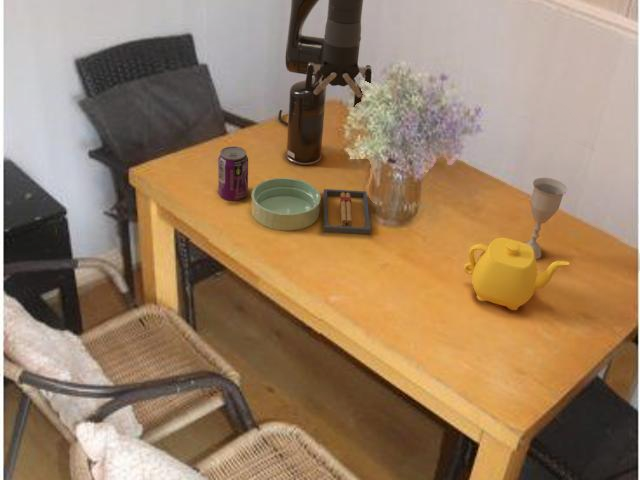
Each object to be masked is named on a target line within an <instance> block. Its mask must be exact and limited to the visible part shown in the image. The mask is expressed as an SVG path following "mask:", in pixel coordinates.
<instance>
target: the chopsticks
mask: <svg viewBox="0 0 640 480" xmlns="http://www.w3.org/2000/svg"><path fill="white" fill-rule="evenodd" d="M339 210H340V223H341V224H340V226H348V227H353V226H352V224H353V215H352V214H353V213H352V197H350V193H346V194H345V193H344V192H342V193H341V196H340V198H339Z"/></svg>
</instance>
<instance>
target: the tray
mask: <svg viewBox="0 0 640 480" xmlns="http://www.w3.org/2000/svg"><path fill="white" fill-rule="evenodd" d="M342 192H344V193H345V194H346V193H350V197H351V198H360V199H362V204H363V214H364V225H365V226H364V227H363V226H352V227H348V226H341V225H329V211H328V209H329V208H328V207H329V206H328V197H341V193H342ZM323 233H331V234H347V235H348V234H349V235H350V234H351V235H366V236H370V235H371V221H370V211H369V203H368V193H367V191H364V190H347V189H332V188H329V189H328V188H324V189H323Z"/></svg>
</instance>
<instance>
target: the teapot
mask: <svg viewBox="0 0 640 480" xmlns="http://www.w3.org/2000/svg"><path fill="white" fill-rule="evenodd" d="M476 250H478V251H482V252H481V253H480V255H479V257H478V258H477V260H476V258H475V251H476ZM468 259H469V262H467V263H465V264H464V267H463V270H464V272H465V273H466V274H468V275H471V283H472V287H473V291H474V292H475V294H476V299H477V300H479V301H480V302H490V303H493V304H495V305H500V306H503V307H507V309H509V310H511V311H517V310H518V309H519V307H521V306H523V305H525V304H526V303H527V302H528V301H529V300H530V299H531V298H532V296H533V295H534V293H535V291H536V290H540V289H543V288H545V287H546V286H547V285H548V284H549V283H550V281H551V280H552V278H553V276H554V274H555V273H556V272H557V271H558V269H560V268H561V267H565V266H569V265H570V264H571V263H570V262H569V261H566V260H556V261H553V262H552V263H550V265H549V266H548V267H547V268H546V270H545V271H543V272H538V266H537V259H535V254H534V251H533V249H532V247H531V246H529V245H528V244H525V242H523V241H519V240H517V239H516V240H515V239H511V238H507V237H496V238H495V239H493V240H492V241H491V242H490V243H489V244H488V245H486V244H484V243H475V244H474V245H472V246H471V247H470V248H469V250H468Z"/></svg>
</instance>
